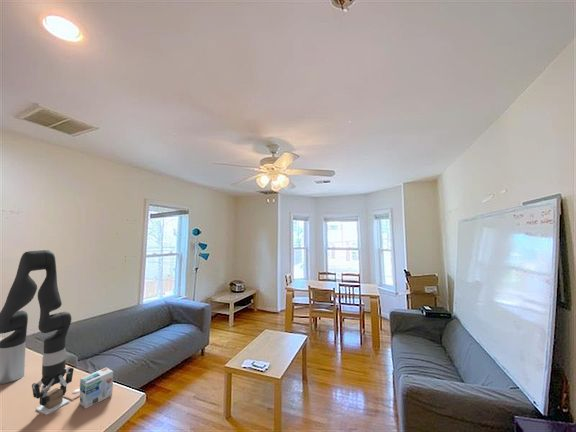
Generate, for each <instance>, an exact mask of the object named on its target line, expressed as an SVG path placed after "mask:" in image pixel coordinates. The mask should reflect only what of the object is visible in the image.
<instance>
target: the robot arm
mask: <svg viewBox="0 0 576 432" xmlns="http://www.w3.org/2000/svg"><path fill="white" fill-rule="evenodd" d="M18 263H19V264H18V268H17V271H16V275H15V278H14V281H13V283H12V284H11V286H10V288H9V292H8V294H7V297H6V300H5V302H4V305H3V307H2V309H1V310H0V335H1V334H6V333H7V334H8V333H11V332H12V333H11V334H9V335H8V336H6V337H5V338H3V339H1V340H0V385H1V384H3V385H4V384H9V383H12V382H15V381H17V380H20V379H21V378H23V377H25V370H26V369H25V367H26V345H27V344H26V342H27V341H26V340H27V339H26V338H27V330H28V322H29V321H28V320H29V318H28V317H29V316H28V313H27V311H26V310H22V309H23V308H25V307H26V306H27V305H29V304H30V302H31V301H33V299H34V297H35V295H36V293H37V300H38V304H39V305H38V306H39V309H40V310H39V311H40V312H39V320H38V326H37V327H38V330H39V332H41V333H42V334H49V333H50V332H51V333H52V332H55V331H56V332H55V333H54V334H51V335H49V336H48V337H46V338H45V339H44V340H43V353H42V363H41V364H42V365H41V375H42V376H41V379H40V380H39V381H38V382H33V383H32V384H31V389H32V396H33V398H35V399H38V400H39V405H40V406H41V405H42V406H45V405H46V394H47V392H49V391H51V390H50V389H51V387H53V386H54V385H57V384H60V386H59V389H61V390H63V395H65V393H66V392H67V386H68V384H71V383H72V381H73V375H74V367H72V366H71V367H67V368H66V365H67V364H66V363H67V351H66V342H67V341H66V338H67V335H68V331H69V328H70V326H71V325H72V324H71V323H72V315H71V313H70V312H68V311H61V312H58V313H57V312H56V313H53V314H50V313H52V312H53V311H56V310H58V309H60V308H61V306H62V305H63V303H62V299H61V296H60V292H59V287H58V275H57V265H56V264H57V262H56V256H55V254H54V252H53V251H52V250H50V249H43V250H28V251H24V252H23V253H22V255H21V257H20V259H19V262H18ZM41 270H45V271H46V272H45V277H44V280H43V282H42V283H41V285H40V287H39V289H38V285H37V283H36V281H35V280H34V279H33V278H32V277H31V276H30V273H31V272H34V271H41ZM37 291H38V292H37ZM64 376H65V378H64ZM41 386H42V387H41ZM40 388H41V389H40Z"/></svg>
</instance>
